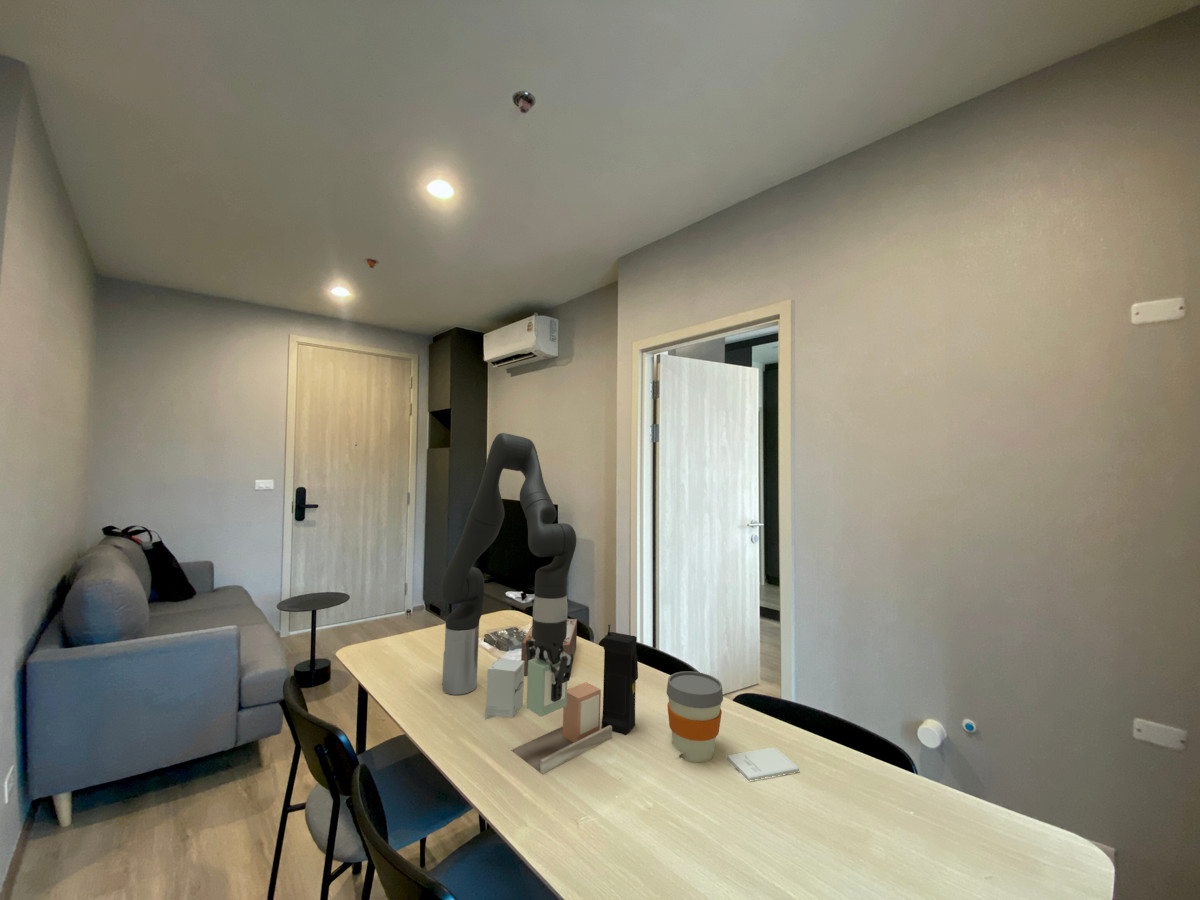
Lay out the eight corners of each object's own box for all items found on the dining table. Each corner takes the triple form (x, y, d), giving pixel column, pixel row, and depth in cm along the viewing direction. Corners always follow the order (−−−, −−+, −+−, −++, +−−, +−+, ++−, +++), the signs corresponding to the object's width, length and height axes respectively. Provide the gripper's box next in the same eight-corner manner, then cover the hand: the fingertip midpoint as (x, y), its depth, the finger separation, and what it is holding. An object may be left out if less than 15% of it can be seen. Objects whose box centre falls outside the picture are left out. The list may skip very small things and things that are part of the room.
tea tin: (526, 708, 102) (528, 660, 103) (552, 697, 107) (553, 652, 108) (541, 717, 99) (543, 667, 99) (567, 706, 103) (568, 659, 104)
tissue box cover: (568, 679, 143) (569, 645, 144) (520, 676, 144) (521, 642, 144) (576, 647, 169) (577, 619, 169) (535, 646, 169) (536, 617, 170)
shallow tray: (510, 757, 103) (511, 738, 103) (579, 724, 117) (579, 708, 117) (542, 781, 95) (542, 761, 95) (611, 743, 109) (612, 726, 109)
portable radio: (640, 730, 115) (642, 625, 116) (630, 743, 109) (633, 632, 111) (610, 722, 118) (613, 620, 119) (599, 734, 113) (603, 627, 114)
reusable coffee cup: (711, 774, 99) (712, 700, 99) (656, 754, 105) (657, 685, 106) (729, 746, 109) (730, 679, 110) (678, 729, 116) (679, 666, 117)
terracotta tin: (562, 735, 109) (563, 690, 110) (584, 724, 114) (586, 682, 114) (577, 745, 105) (579, 698, 106) (600, 733, 110) (601, 689, 111)
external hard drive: (799, 775, 100) (748, 785, 97) (773, 753, 108) (726, 761, 104) (799, 767, 100) (748, 776, 97) (773, 746, 108) (726, 753, 105)
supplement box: (512, 724, 116) (514, 671, 117) (484, 720, 117) (486, 668, 118) (523, 710, 123) (525, 660, 124) (496, 706, 125) (498, 657, 125)
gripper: (585, 620, 101) (582, 702, 101) (543, 605, 112) (540, 679, 111) (557, 627, 96) (555, 714, 95) (516, 611, 106) (513, 689, 105)
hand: (547, 695), depth 103 cm, fingers closed on tea tin, 5 cm apart
